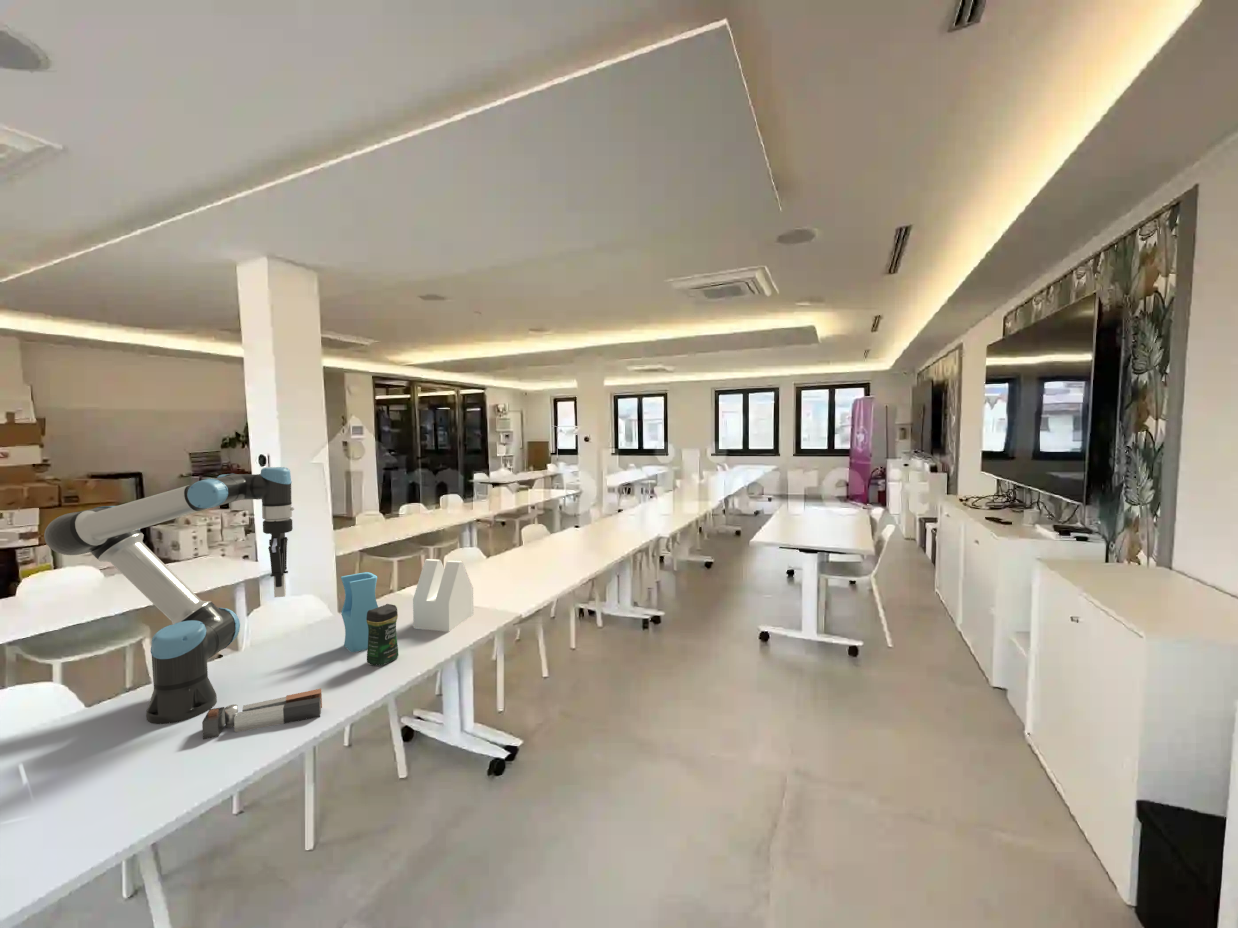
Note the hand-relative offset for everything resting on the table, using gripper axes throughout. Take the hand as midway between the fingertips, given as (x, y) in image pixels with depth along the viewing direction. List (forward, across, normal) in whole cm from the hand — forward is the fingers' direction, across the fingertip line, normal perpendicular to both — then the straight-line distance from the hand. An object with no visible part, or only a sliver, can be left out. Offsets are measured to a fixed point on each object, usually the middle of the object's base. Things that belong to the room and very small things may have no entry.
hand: (280, 596), depth 164 cm
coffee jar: (+27, +7, -28) cm, 40 cm away
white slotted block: (+27, +38, -49) cm, 68 cm away
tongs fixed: (+27, -24, -1) cm, 36 cm away
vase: (+28, +24, -20) cm, 41 cm away
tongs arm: (+27, -21, -2) cm, 34 cm away
